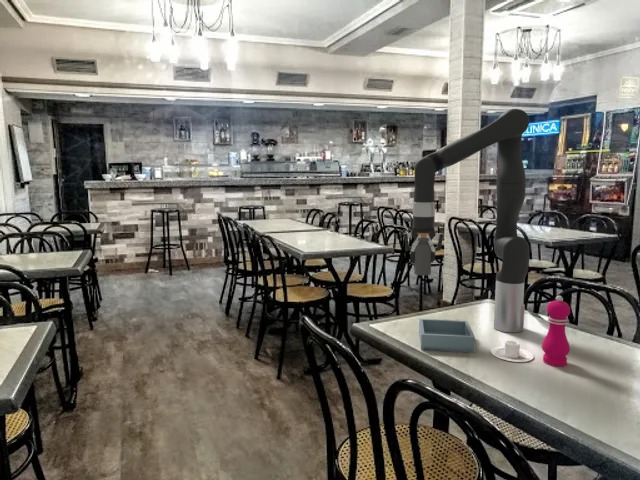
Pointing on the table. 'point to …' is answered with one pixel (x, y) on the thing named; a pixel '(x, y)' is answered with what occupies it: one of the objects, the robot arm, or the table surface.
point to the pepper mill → (556, 334)
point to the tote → (446, 335)
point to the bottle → (422, 256)
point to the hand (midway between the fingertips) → (422, 261)
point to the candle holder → (512, 351)
